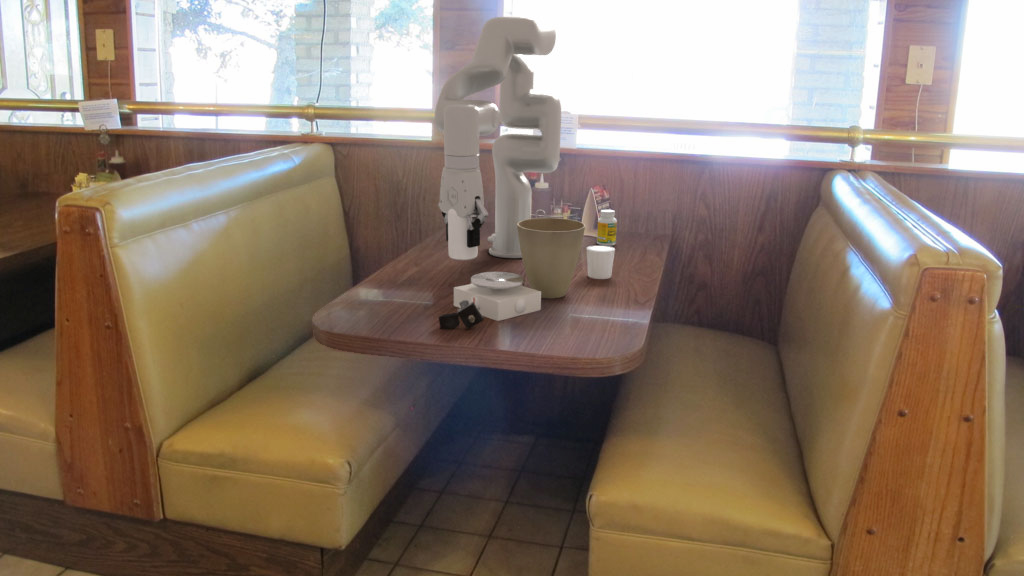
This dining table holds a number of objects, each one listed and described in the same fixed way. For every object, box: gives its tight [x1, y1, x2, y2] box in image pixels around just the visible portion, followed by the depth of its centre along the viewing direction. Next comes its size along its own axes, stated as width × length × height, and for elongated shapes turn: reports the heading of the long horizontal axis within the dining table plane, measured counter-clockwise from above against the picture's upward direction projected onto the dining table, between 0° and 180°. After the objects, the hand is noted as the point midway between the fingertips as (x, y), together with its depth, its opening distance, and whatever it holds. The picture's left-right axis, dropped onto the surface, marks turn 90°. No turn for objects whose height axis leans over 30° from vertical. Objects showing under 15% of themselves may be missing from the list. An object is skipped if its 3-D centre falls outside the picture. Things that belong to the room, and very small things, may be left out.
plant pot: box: [517, 217, 586, 299], centre depth 186 cm, size 15×15×16 cm
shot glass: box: [586, 244, 616, 280], centre depth 203 cm, size 7×7×7 cm
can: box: [447, 205, 479, 261], centre depth 185 cm, size 6×6×12 cm
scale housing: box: [453, 283, 542, 322], centre depth 176 cm, size 14×12×4 cm
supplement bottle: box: [596, 209, 618, 247], centre depth 238 cm, size 5×5×10 cm
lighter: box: [438, 300, 485, 330], centre depth 163 cm, size 8×2×5 cm
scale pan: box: [470, 271, 525, 289], centre depth 176 cm, size 11×11×2 cm
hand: (463, 242), depth 186 cm, fingers closed on can, 6 cm apart
